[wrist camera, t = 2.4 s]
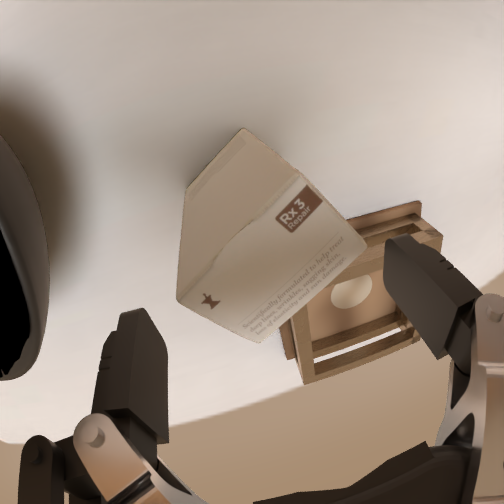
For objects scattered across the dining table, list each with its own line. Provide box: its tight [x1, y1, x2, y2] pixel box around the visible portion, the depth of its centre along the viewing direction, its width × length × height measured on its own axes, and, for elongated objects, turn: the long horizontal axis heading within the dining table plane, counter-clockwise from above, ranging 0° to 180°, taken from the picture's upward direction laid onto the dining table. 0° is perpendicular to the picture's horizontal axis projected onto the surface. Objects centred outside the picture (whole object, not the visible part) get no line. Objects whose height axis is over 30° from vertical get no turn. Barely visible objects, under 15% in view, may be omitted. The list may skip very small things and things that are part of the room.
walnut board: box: [279, 201, 422, 360], centre depth 28 cm, size 15×15×1 cm
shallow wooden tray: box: [287, 213, 443, 385], centre depth 26 cm, size 13×13×4 cm
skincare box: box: [176, 128, 367, 343], centre depth 15 cm, size 6×4×12 cm
